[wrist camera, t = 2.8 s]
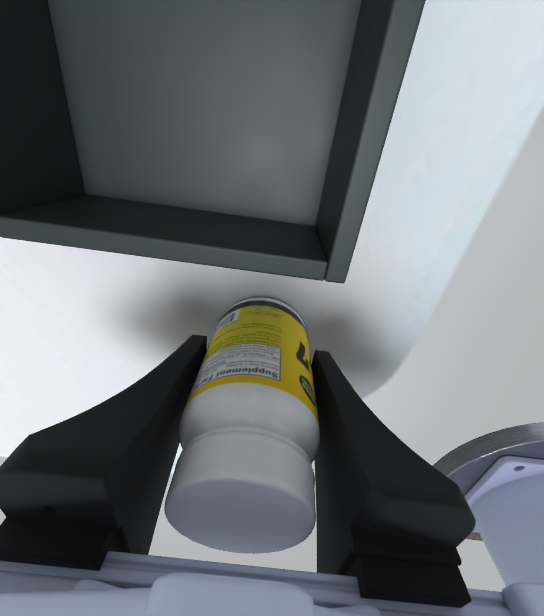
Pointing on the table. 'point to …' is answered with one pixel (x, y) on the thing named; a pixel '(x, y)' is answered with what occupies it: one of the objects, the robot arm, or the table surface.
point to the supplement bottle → (249, 435)
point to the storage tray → (199, 126)
